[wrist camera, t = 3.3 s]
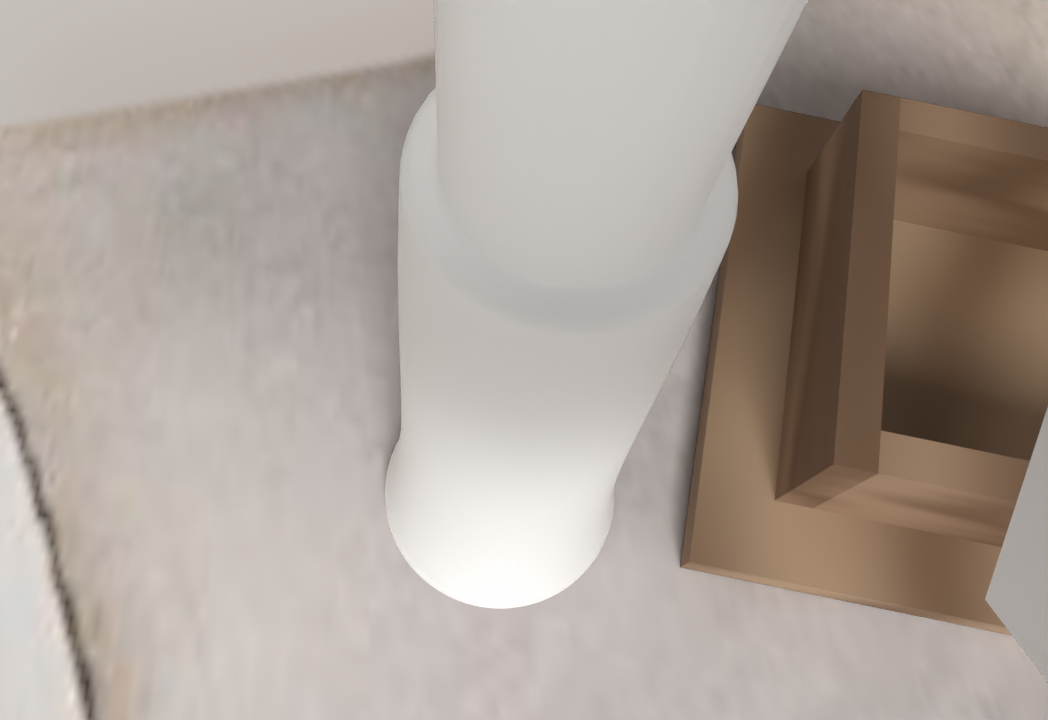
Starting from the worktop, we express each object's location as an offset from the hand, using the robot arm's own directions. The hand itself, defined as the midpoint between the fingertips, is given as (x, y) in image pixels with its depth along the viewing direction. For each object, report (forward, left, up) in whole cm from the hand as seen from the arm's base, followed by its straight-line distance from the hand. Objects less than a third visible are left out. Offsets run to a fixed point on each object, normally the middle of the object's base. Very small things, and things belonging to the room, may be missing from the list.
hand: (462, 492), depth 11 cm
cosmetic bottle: (0, -3, -14) cm, 15 cm away
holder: (-12, -9, -14) cm, 21 cm away
